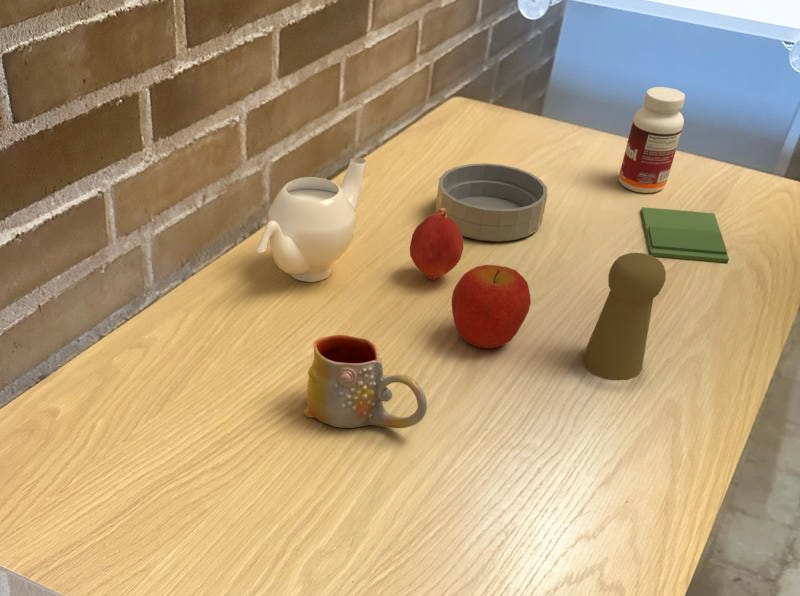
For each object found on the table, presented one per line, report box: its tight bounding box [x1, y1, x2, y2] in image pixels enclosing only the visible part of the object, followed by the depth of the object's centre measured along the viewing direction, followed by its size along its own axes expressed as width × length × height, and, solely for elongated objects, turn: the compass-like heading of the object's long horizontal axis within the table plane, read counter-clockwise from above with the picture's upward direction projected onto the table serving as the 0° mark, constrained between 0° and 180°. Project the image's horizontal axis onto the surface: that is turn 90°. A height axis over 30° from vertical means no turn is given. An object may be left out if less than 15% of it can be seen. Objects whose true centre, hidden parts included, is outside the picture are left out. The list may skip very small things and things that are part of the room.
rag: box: [640, 206, 730, 264], centre depth 118 cm, size 9×12×1 cm
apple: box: [450, 264, 531, 349], centre depth 98 cm, size 8×8×8 cm
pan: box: [434, 162, 548, 243], centre depth 118 cm, size 13×13×4 cm
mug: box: [303, 334, 428, 429], centre depth 88 cm, size 12×7×7 cm, turn 55°
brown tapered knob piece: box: [581, 252, 667, 381], centre depth 95 cm, size 6×6×11 cm
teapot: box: [255, 157, 367, 283], centre depth 106 cm, size 10×20×9 cm, turn 146°
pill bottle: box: [618, 86, 686, 194], centre depth 123 cm, size 6×6×11 cm
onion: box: [409, 208, 464, 281], centre depth 106 cm, size 6×6×8 cm
